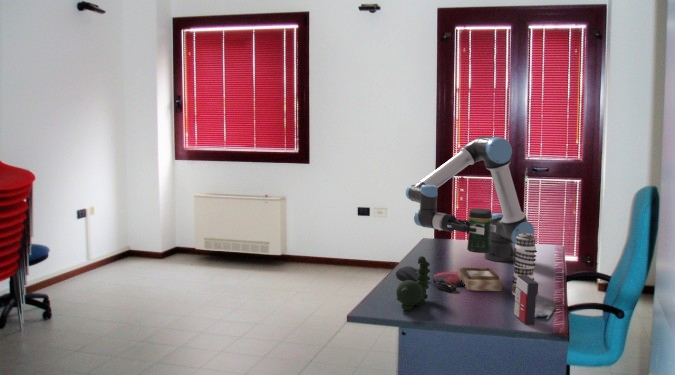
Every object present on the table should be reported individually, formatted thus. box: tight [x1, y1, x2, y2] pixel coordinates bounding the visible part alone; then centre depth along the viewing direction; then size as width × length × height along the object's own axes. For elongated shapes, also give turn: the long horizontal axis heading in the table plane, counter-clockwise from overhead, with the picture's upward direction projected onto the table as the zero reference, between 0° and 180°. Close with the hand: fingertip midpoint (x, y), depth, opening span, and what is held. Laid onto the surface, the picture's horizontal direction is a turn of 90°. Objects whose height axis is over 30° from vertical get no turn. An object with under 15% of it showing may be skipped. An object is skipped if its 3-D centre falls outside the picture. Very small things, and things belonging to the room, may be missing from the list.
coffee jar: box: [466, 207, 493, 254], centre depth 272 cm, size 10×8×19 cm
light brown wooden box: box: [457, 267, 503, 292], centre depth 274 cm, size 14×20×5 cm
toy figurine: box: [396, 255, 431, 312], centre depth 241 cm, size 9×19×25 cm
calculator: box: [513, 275, 539, 326], centre depth 228 cm, size 11×4×15 cm, turn 5°
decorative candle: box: [511, 233, 538, 296], centre depth 259 cm, size 9×9×25 cm
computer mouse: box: [395, 265, 458, 293], centre depth 273 cm, size 10×32×6 cm, turn 44°
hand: (489, 230), depth 269 cm, fingers closed on coffee jar, 8 cm apart
